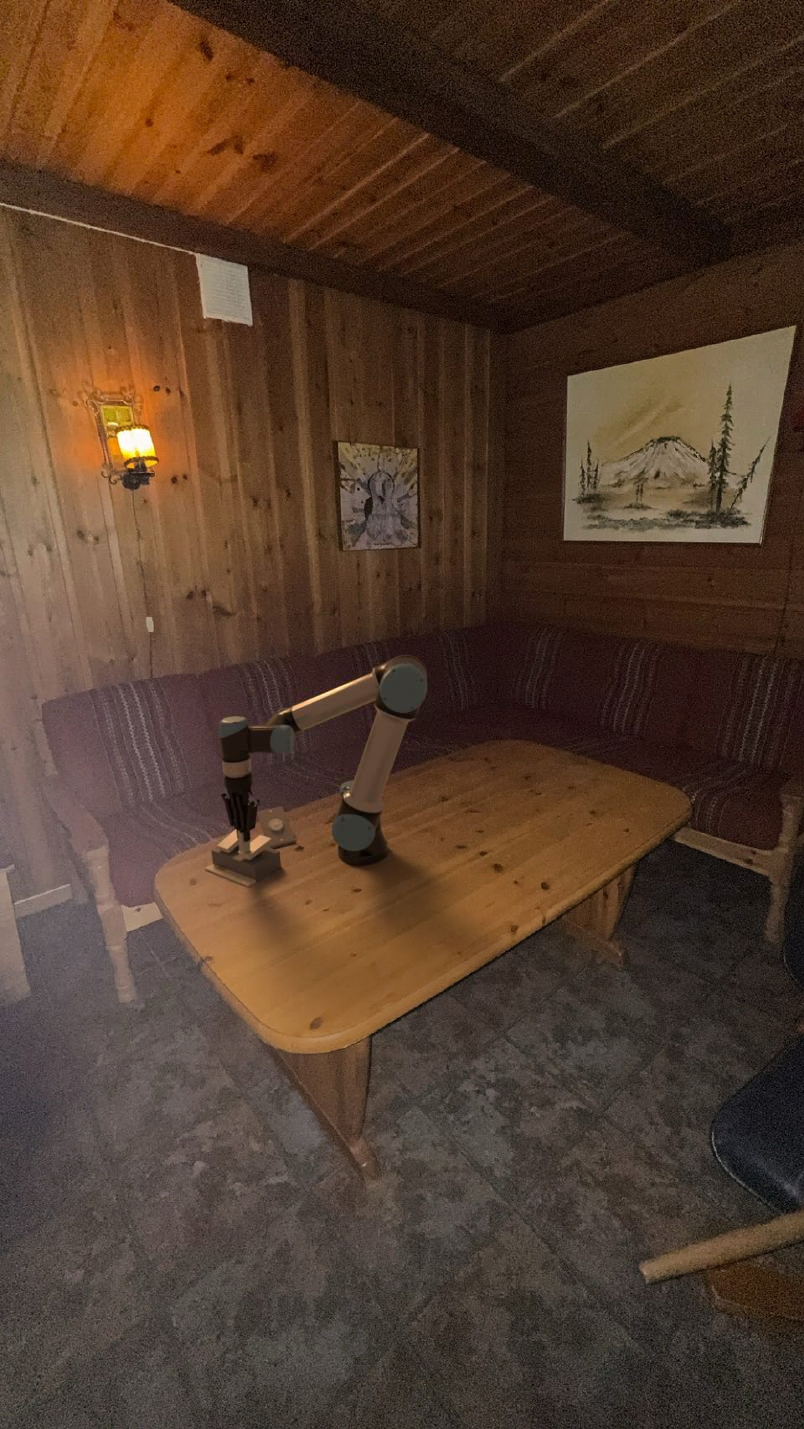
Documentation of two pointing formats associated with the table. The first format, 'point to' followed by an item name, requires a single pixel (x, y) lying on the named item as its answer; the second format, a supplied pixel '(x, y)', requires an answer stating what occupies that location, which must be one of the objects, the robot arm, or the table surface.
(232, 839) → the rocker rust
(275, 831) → the light switch
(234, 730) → the robot arm
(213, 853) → the console
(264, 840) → the rocker sage
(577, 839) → the table surface
